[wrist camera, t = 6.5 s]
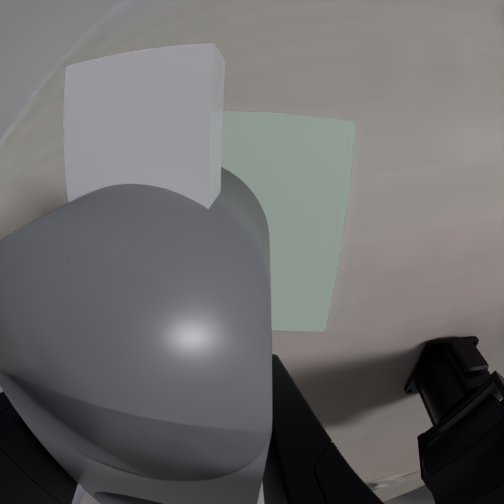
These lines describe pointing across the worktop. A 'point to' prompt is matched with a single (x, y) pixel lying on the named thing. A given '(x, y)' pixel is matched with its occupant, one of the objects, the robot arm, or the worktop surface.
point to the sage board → (295, 203)
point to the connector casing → (145, 292)
